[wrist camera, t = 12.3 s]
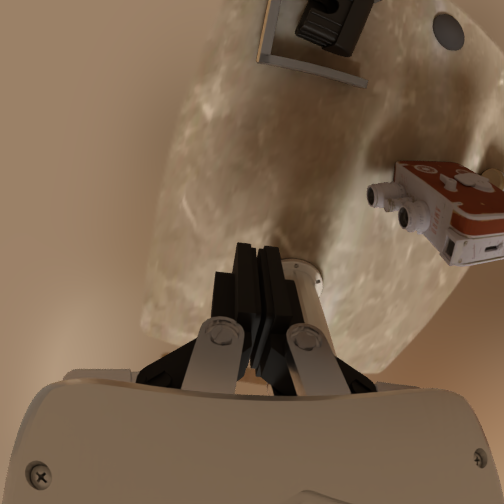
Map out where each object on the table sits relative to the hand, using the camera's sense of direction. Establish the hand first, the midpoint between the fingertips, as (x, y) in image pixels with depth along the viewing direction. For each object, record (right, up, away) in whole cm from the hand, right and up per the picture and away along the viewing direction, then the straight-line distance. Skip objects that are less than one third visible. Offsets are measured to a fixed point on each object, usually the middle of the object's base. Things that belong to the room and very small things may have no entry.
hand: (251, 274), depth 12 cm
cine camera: (+26, +13, +30) cm, 42 cm away
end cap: (+10, +32, +17) cm, 38 cm away
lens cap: (+31, +35, +16) cm, 50 cm away
